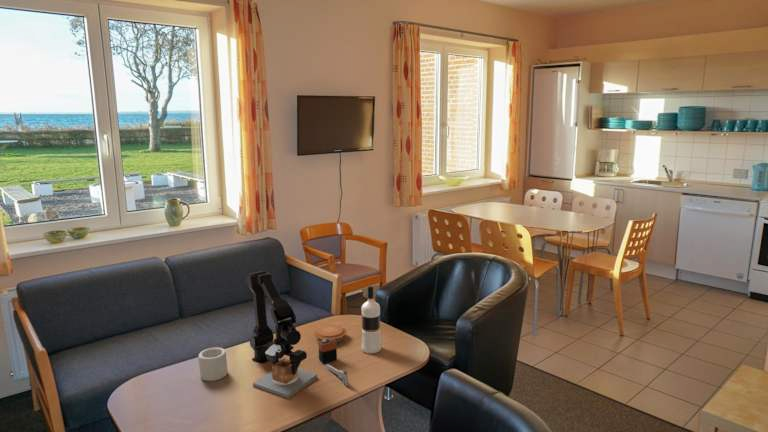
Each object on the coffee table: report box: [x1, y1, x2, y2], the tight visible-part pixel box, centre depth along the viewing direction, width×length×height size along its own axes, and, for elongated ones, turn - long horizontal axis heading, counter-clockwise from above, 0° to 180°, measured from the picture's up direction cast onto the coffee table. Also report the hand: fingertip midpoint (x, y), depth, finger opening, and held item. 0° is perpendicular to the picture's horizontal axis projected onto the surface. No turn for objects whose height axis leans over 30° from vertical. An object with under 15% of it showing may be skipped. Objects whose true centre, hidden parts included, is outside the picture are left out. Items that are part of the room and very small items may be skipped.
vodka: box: [360, 286, 383, 355], centre depth 233 cm, size 9×9×30 cm
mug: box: [197, 346, 228, 382], centre depth 215 cm, size 14×11×10 cm
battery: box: [318, 338, 338, 365], centre depth 225 cm, size 4×7×10 cm, turn 120°
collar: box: [271, 358, 298, 384], centre depth 208 cm, size 7×7×6 cm
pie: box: [313, 324, 347, 344], centre depth 247 cm, size 16×16×5 cm
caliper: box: [324, 363, 349, 388], centre depth 213 cm, size 20×1×6 cm, turn 31°
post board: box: [252, 367, 318, 399], centre depth 208 cm, size 18×18×6 cm
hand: (285, 372), depth 208 cm, fingers open, 9 cm apart
